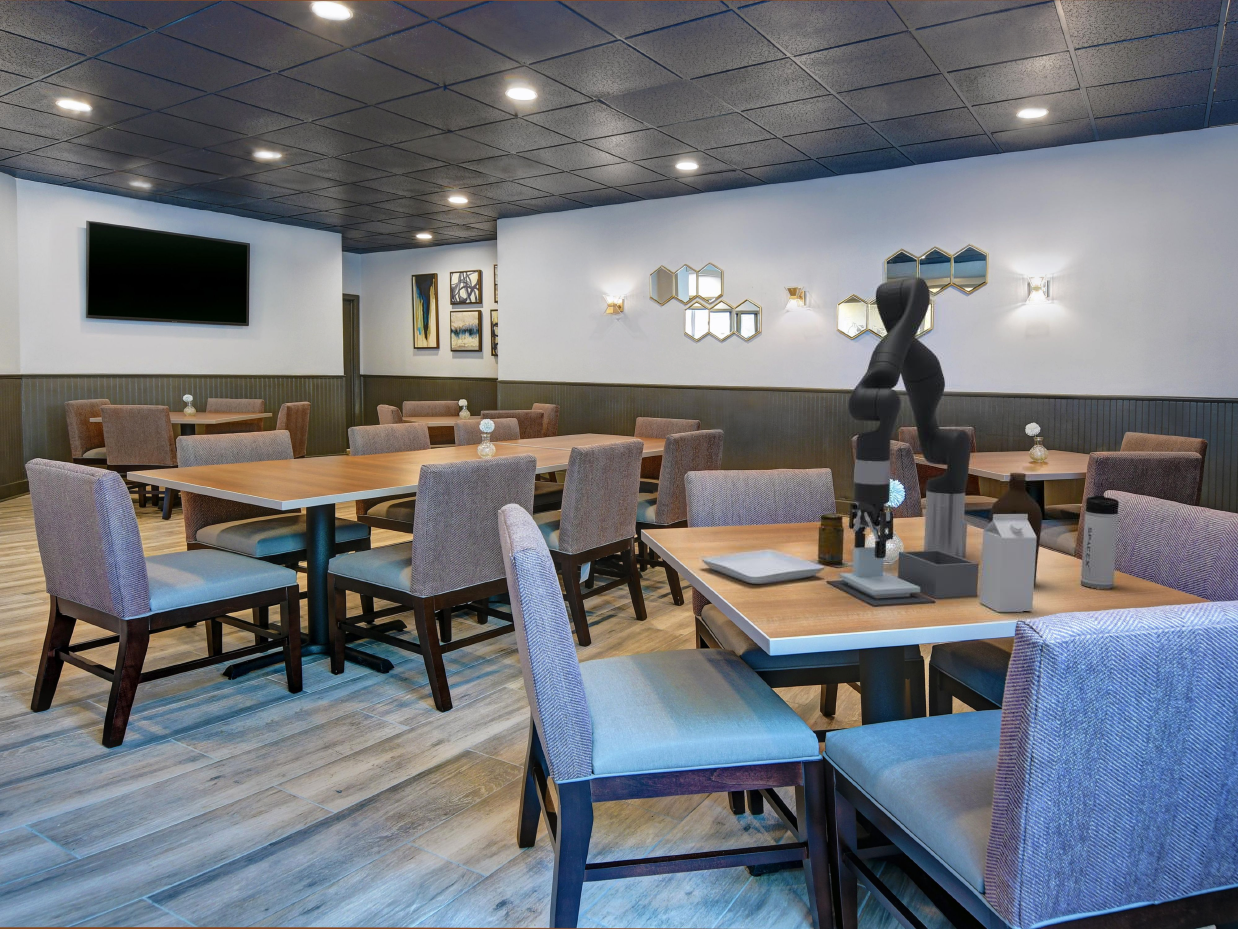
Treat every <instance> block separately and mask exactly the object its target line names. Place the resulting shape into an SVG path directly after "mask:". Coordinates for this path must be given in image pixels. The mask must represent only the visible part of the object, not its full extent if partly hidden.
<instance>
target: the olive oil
mask: <svg viewBox="0 0 1238 929" xmlns="http://www.w3.org/2000/svg"><path fill="white" fill-rule="evenodd" d="M1009 477H1010V478H1009V481H1008V490H1007V491H1006V492H1004V493H1003V494H1002V495H1001V496H1000V497H999V498H998V499H997V500H996V501H994V503H993V504H992V506H991V508H990V511H989V519H988V520H989V523H990V522H991V521H992V520H993V514H1028V518H1027V520H1028V522H1029V524H1030V525H1031V527H1032V529H1033V531H1034V533H1035V535H1036V537H1037V538H1036V556H1035V573H1034V587H1035V586H1036V583H1037V582H1036V580H1037V568H1038V560H1039V559H1038V558H1039V551H1040V550H1039V549H1040V543H1041V542H1040V541H1041V540H1040V539H1041V534H1042V532H1041V531H1042V525H1043V514H1042V510H1041V507H1040V506H1039V504H1038V502H1036V501H1035V500H1034V498H1032V497H1031V495H1030V494H1029V493H1028V492H1027V491H1026V487H1027V480H1026V477H1027V473H1025V472H1010V473H1009Z"/></svg>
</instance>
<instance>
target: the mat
mask: <svg viewBox="0 0 1238 929" xmlns="http://www.w3.org/2000/svg"><path fill="white" fill-rule="evenodd" d="M826 584H828V585H830V586H832V587H833V588H834V587H835V588H836V589H839V590H840V591H842V592H844V593H846V594H848V595H850V596H851V597H854V598H856V599H858V600H859V601H861V602H864V603H866V604H868V605H870V606H871V607H874V608H876V607H892V606H905V605H906V606H907V605H922V604H923V605H924V604H925V605H926V604H935V603H936V600H934V599H932V598H929V597H927V596H926V595H923V594H922V593H919V592H912V593H910V596H907V597H890V598H875V597H873V596H871V595H868V594H866V593H864V592H862V591H860V590H858V589H856V588H854V587H852V586H850V585H848V582H847V581H845V580H842V579H839V580H836V579H835V580H827V581H826Z"/></svg>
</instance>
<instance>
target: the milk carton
mask: <svg viewBox="0 0 1238 929" xmlns="http://www.w3.org/2000/svg"><path fill="white" fill-rule="evenodd" d="M1027 518H1028V514H993V520H992V521H991V522H989V523H988V525H987V526H986V527H985V528H984V529H983V531H982V543H981V544H982V548H981V562H980V564H981V567H980V581H979V582H980V585H979V598H978V599H979V603H980V604H982V605H984V606H986V607H987V608H989V609H991V610H992V611H995V612H997V613H1023V611H1032V612H1033V605H1034V604H1033V601H1034V589H1035V588H1034V587H1035V586H1034V573H1035V556H1036V538H1037V537H1036V535H1035V533H1034V531H1033V529H1032V527H1031V525H1030V524H1029V522H1028V520H1027Z"/></svg>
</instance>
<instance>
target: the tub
mask: <svg viewBox="0 0 1238 929" xmlns="http://www.w3.org/2000/svg"><path fill="white" fill-rule="evenodd" d="M979 564H980V563H977V562H975V561H972V560H969V559H966V558H965V559H964V558H961V557H958V556H955V555H952V554H949V553H946V552H943V551H940V550H930V551H924V550H915V551H912V550H910V551H898V567H897V578H899V579H902V580H904V581H906V582H909V583H911V584H914V585H916V586H918V587H920V592H919V593H920V594H922V595H923V594H924V595H925V596H928V597H931V598H933V599H935V600H936V599H949V598H950V599H951V598H964V597H965V598H969V597H977V596H978V585H979V584H978V583H979V582H978V581H979V567H980V565H979Z"/></svg>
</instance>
